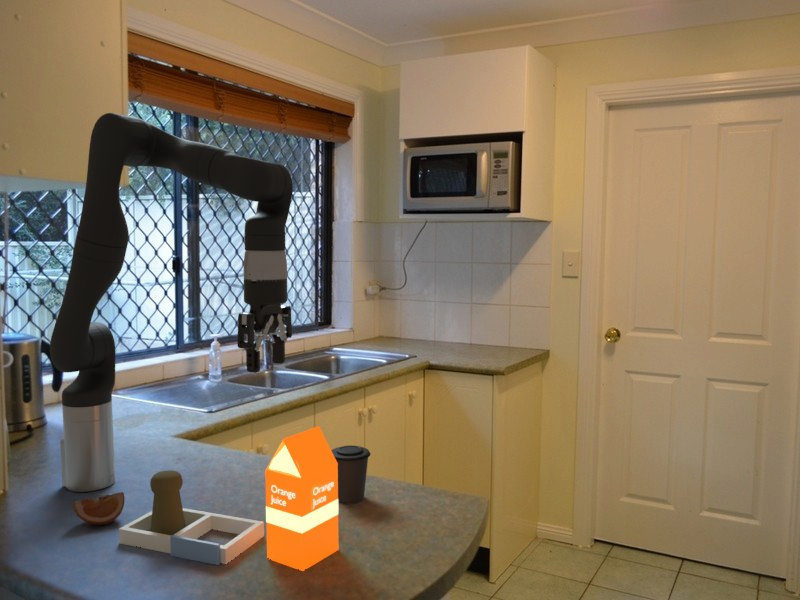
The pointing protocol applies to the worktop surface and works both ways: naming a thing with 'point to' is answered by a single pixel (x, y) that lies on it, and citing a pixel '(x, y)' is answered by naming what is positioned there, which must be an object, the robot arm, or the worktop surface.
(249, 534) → the white flat rectangular frame
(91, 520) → the fruit slice
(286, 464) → the orange juice
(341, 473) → the coffee cup
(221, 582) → the worktop surface
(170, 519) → the olive rounded piece
